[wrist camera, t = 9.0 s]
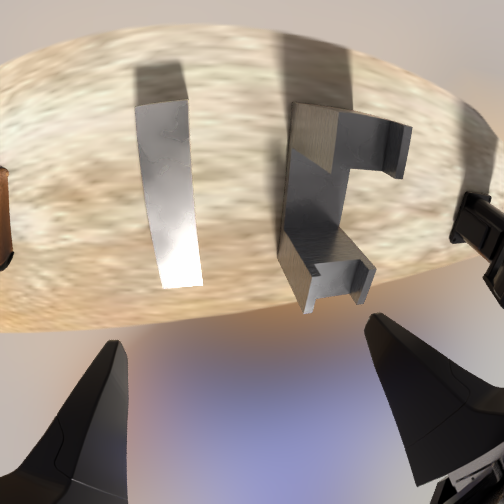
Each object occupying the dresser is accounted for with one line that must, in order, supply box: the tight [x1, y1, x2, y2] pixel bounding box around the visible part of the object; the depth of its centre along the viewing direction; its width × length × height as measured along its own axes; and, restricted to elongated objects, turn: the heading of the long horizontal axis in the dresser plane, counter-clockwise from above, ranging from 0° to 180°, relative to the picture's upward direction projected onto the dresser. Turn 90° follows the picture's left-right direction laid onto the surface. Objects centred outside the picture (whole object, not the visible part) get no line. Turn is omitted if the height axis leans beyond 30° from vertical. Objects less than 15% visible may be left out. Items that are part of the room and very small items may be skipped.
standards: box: [277, 102, 412, 314], centre depth 17 cm, size 5×12×6 cm, turn 177°
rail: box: [135, 99, 203, 289], centre depth 16 cm, size 3×12×3 cm, turn 179°
